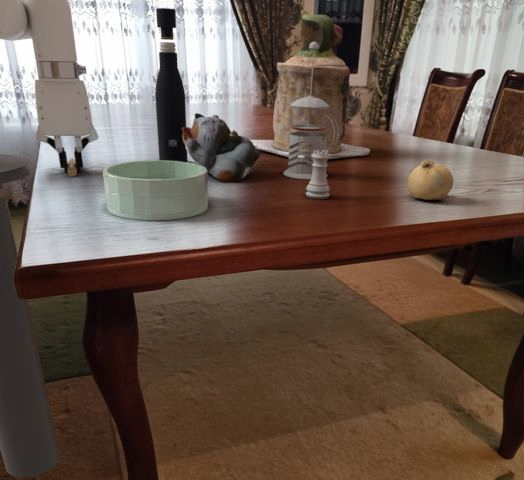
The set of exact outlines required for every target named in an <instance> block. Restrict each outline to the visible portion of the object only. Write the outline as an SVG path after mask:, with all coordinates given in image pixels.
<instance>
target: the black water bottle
mask: <svg viewBox="0 0 524 480" xmlns="http://www.w3.org/2000/svg"><path fill="white" fill-rule="evenodd" d="M155 13H156V14H155V15H156V28H160V39H161V40H167V41H169V42H167V41H160V42H159V47H160V48H159V50H160V52H158V59H159V61H158V62H159V69H158V73H157V77H156V82H155V92H154V97H155V98H154V99H155V113H156V114H155V115H156V128H157V145H158V147H157V148H158V160H168V161H181V162H189V161H188V151H187V150H186V146H185V144H184V142H183V131H182V128H183V127H187V109H186V108H187V107H186V93H185V88H184V87H185V86H184V83H183V79H182V75H181V73H180V70H179V66H178V65H179V64H178V53H177V52H176V50H177V48H176V46H177V45H176V43H175V42H171V41H174V40H175V39H174V29H176V28H177V14H176V9H175V8H170V7H169V8H168V7H167V8H166V7H157V8H156V9H155Z"/></svg>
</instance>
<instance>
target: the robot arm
mask: <svg viewBox="0 0 524 480" xmlns="http://www.w3.org/2000/svg"><path fill="white" fill-rule="evenodd" d="M29 39H31V41H32V47H33V53H34V58H35V59H34V61H35V66H36V72H37V77H38V79H35V80H34V97H35V108H36V116H37V123H38V126H37V128H36V129H37V130H36V133H35V134H36V135H35V139H36V141H38V142H42V143H45V144H48V145H49V146H50V147H51V148H52V149H54V150H55V151H56V153H58V160H59V166H60V169H63V170H64V173H65V174H68V172H67V168H68V157H67V152H66V151H65V148H64V147H63V141H62V137H74V142H75V147H74V151H73V155H74V160H75V162H76V168H77V174H80V173H81V172H82V171H81V168H82V169H83V168H84V161H83V155H82V151H83V150H84V149H85V148H86V147H87V146H88V144H90V143H93V142H94V141H97V140H98V139H99V133H98V132H97V130H96V128H95V126H94V124H93V119H92V112H91V106H90V101H89V100H90V99H89V96H88V95H89V94H88V92H87V87H86V84H85V81H84V80H80V76H82V75H87V67H86V65H81V64H79V63H78V55H77V48H76V40H75V32H74V25H73V15H72V9H71V5H70V2H69V1H68V0H0V40H4V41H12V42H13V41H23V40H29ZM82 136H83V137H82Z"/></svg>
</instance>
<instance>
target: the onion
mask: <svg viewBox="0 0 524 480" xmlns="http://www.w3.org/2000/svg"><path fill="white" fill-rule="evenodd" d="M453 186H454V177H453V174H452V171H451V170H450V169H449V168H448V167H446V165H444V164H442V163H437V162H434V161H432V160H429V159H426V160H423V161H421V164H419V165H418V166H416V167H415V168H414V169H413V170H412V172H411V173H410V174H409V176H408V179H407V190H408V192H409V195H410V196H411V197H413V198H415V199H422V200H426V201H429V200H430V201H432V200H436V201H443V200H445V199H446V197H447V196H448V194H449V193H450V192H451V190H452V188H453Z"/></svg>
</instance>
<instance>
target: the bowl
mask: <svg viewBox="0 0 524 480" xmlns="http://www.w3.org/2000/svg"><path fill="white" fill-rule="evenodd" d="M208 174H209V173H208V171H207V169H206V167H204V166H201V165H198V164H197V163H193V162H189V161H188V162H181V161H168V160H159V159H147V160H146V159H144V160H131V161H124V162H117V163H113V164H109V165H107V166H105V167H104V168H103V169H102V176H103V177H102V178H103V187H104V196H105V203H106V209H107V211H108V212H109V213H110V214H111V215H114V216H117V217H120V218H124V219H130V220H136V221H137V220H139V221H171V220H180V219H187V218H191V217H195V216H198V215H200V214H203V213H204V212H206V211H207V210H208V207H209V206H208V205H209V204H208V203H209V176H208Z"/></svg>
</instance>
